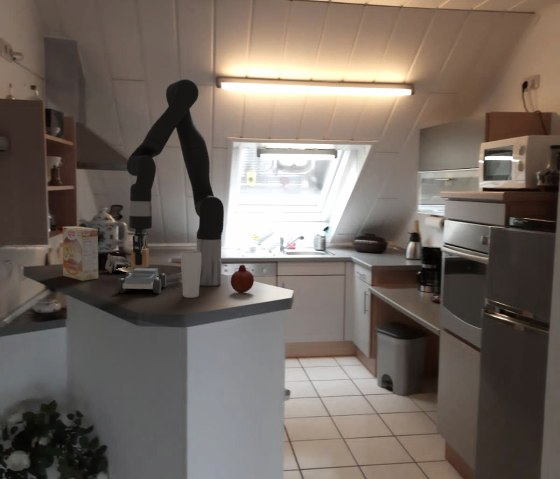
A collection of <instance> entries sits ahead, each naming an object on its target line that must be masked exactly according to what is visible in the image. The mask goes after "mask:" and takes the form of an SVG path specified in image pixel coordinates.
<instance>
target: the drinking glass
mask: <svg viewBox="0 0 560 479" xmlns="http://www.w3.org/2000/svg"><path fill="white" fill-rule="evenodd" d="M180 270H181V282H182V295H183V296H182V297H184V298H187V299H194V298H195V299H196V298H199V296H200V286H201V285H200V274H201V252H199V251H197V250H186V251H181V252H180Z"/></svg>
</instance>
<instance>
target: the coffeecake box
mask: <svg viewBox="0 0 560 479" xmlns="http://www.w3.org/2000/svg"><path fill="white" fill-rule="evenodd" d="M98 230H99V229H98V228H92V227H91V228H90V227H85V226H62V230H61V231H62V276H63V277H67V278H70V279H75V280H78V281H83V282H84V281H89V280H91V281H92V280H98V279H99V245H98V244H99V242H98V241H99V240H98V238H99V237H98V236H99V234H98V233H99V231H98Z"/></svg>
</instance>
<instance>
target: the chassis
mask: <svg viewBox="0 0 560 479" xmlns="http://www.w3.org/2000/svg"><path fill="white" fill-rule="evenodd" d="M157 276H159V277H157ZM166 286H167V273H165V272H164V273H162V272H161V273H160V272H159V268H158V267H157V268H150V267H149V268H148V267H146V268H140V267H136V268H135V269H134V270H133V273H124V278H123V277H121V278H120V277H118V279H117V281H116V292H117V293H118V294H125V293H126V290H127V289H136V290H143V289H144V290H152V293H153V294H161V292H162V288H166Z"/></svg>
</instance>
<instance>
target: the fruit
mask: <svg viewBox="0 0 560 479" xmlns="http://www.w3.org/2000/svg"><path fill="white" fill-rule="evenodd" d="M254 282H255V278H254V275H253V273H252V272H251V271H249V270H248V269H247V267H246V266H245V264H240V265H239V267H238V270H236V271H234V273H233V274H232V275H231V277H230V286H231V287H232V289H233V290H234V291H235V292H237V293H241V294H243V293H246V292H248V291H250V290H251V289H252V287H253V285H254Z"/></svg>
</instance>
